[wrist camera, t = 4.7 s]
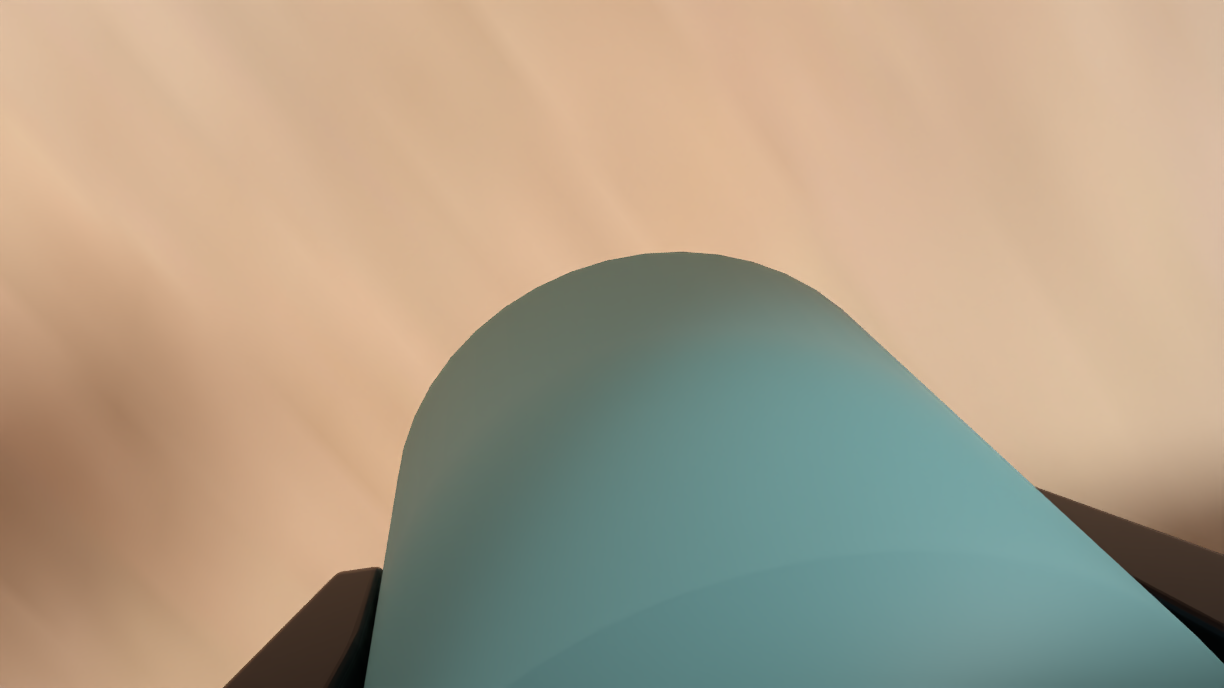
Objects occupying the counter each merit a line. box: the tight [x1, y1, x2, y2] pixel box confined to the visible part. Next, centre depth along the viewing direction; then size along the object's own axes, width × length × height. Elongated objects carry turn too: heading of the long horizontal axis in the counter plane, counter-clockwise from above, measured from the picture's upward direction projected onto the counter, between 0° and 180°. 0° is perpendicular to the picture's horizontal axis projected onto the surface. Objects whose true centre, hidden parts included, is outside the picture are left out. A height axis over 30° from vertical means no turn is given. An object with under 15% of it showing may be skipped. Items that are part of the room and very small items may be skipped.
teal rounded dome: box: [364, 252, 1224, 688], centre depth 8 cm, size 6×6×5 cm
